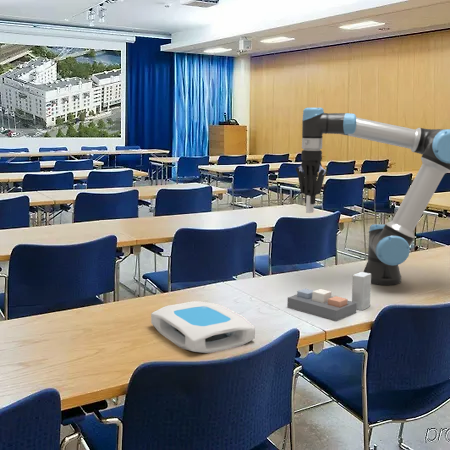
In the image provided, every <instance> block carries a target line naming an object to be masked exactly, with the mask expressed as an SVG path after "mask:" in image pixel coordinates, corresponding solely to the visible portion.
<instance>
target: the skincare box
mask: <svg viewBox="0 0 450 450" xmlns="http://www.w3.org/2000/svg"><path fill="white" fill-rule="evenodd" d="M351 285H352V290H351V301H352V302H356V303H357V306H356V311H358V310H359V311H364V310H365V309H367V308H369V307H370V306H371V290H372V288H371V287H372V283H371V274H370V273H365V272H364V271H359V272H358V273H355V274H352V284H351Z"/></svg>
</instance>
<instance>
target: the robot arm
mask: <svg viewBox="0 0 450 450" xmlns="http://www.w3.org/2000/svg"><path fill="white" fill-rule="evenodd" d="M302 112H303V113H302V124H301V125H302V128H301V129H302V130H301V131H302V133H301V149H303V150H301V164H300V165H299V166H298V167H295V171H296V174H297V177H298V184H299V190H300V193H301V194H303V195H304V203H305V213H306V214H312V213H314V211H315V210H314V205H315V204H316V196H317V195H320V194H321V192H322V187H323V183H324V179H325V177H326V176H325V175H326V174H327V172H328V170H327V169H326V168H325V169H324V167H323V165H322V159H323V151H322V150H323V135H324V134H326V135H327V134H328V135H331V134H332V135H343V136H349V137H354V138H356V139H357V138H358V139H362V140H365V141H367V140H368V141H370V142H371V141H372V142H377V143H380V144H386V145H391V146H396V147H398V148H399V147H400V148H405V149H410V151H411V153H416V154H420V155H421V157H420V158H421V159H420V160H421V162H422V164H421V166H420V168H419V170H418V171H417V173H416V175H415V177H414V179H413V181H412V183H411V185H410V186H409V188H408V189H407V192H406V193H405V196H404V197H403V199H402V201H401V203H400V205H399V207H398V209H397V210H396V212H395V215H394V216H393V218H392V220H391V221H388V222H386V223H385V224H383V223H380V224H379V223H378V224H377V223H375V224H373V223H372V224H370V225H369V231H368V250H367V261H366V265H365V266H364V270H363V272H365V273H370V274H371V285H372V284H373V285H381V286H394V285H398V284H401V282H402V275H401V271H400V267H399V265H401V264H403V263H404V262H405V261H406V260H408V258H409V257H410V252H411V249H410V247H411V245H412V242H413V241H414V239H415V234H414V231H415V229H416V228H417V227H416V226H417V225H418V223H419V222H420V220H421V218H422V216H423V214H424V213H425V210H426V208H427V206H428V204H429V203H430V201H431V200H432V197H433V196H434V193H435V192H436V191H437V188H438V186H439V185H440V183H441V181H442V179H443V178H444V176H445V174H447V173H450V128H449V129H448V128H445V129H443V128H435V129H434V128H432V129H431V128H430V129H429V128H422V127H417V128H416V129H414V128H409V127H404V126H400V125H395V124H390V123H385V122H380V121H375V120H372V119H366V118H361V117H357V115H356V114H355V113H349V112H346V113H345V112H339V113H337V112H332V113H331V112H329V113H326V112H325V111H324V108H323V107H306V108H304V109H303V111H302Z"/></svg>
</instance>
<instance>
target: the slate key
mask: <svg viewBox="0 0 450 450" xmlns="http://www.w3.org/2000/svg"><path fill="white" fill-rule="evenodd" d="M313 291H314V290H313V289H309V288H303V289H302V288H301V289H300V290H298V291H296V292H297V293H296V295H297V297H301V298H305V299H311V298H312V292H313Z"/></svg>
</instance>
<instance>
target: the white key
mask: <svg viewBox="0 0 450 450" xmlns="http://www.w3.org/2000/svg"><path fill="white" fill-rule="evenodd" d="M331 296H332V291H330V290H328V289H327V290H326V289H323V288H319V289H316V290H313V292H312V301H316V302H320V303H326V302H328V299H329V298H331Z"/></svg>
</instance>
